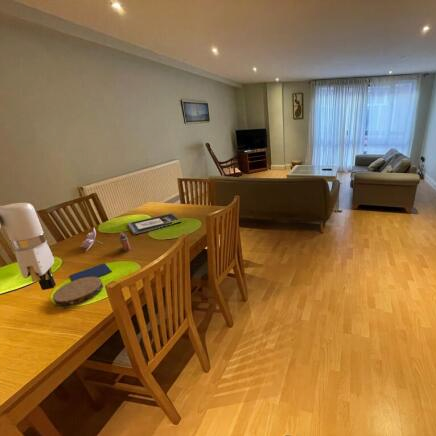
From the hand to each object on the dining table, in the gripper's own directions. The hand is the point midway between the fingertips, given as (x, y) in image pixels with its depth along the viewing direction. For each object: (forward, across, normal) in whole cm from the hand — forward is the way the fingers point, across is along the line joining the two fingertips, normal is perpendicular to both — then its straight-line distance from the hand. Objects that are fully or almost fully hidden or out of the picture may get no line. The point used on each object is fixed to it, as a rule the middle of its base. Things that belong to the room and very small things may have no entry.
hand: (49, 287), depth 84 cm
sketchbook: (+13, -87, +25) cm, 91 cm away
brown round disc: (+14, -16, +1) cm, 21 cm away
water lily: (+14, -65, -7) cm, 67 cm away
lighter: (+14, -53, +13) cm, 56 cm away
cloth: (+14, -31, +1) cm, 34 cm away
